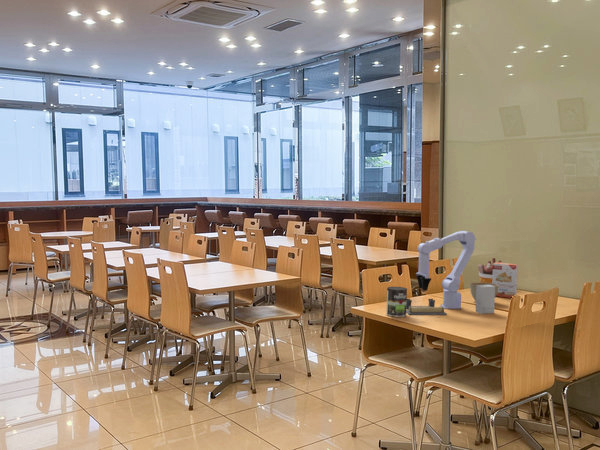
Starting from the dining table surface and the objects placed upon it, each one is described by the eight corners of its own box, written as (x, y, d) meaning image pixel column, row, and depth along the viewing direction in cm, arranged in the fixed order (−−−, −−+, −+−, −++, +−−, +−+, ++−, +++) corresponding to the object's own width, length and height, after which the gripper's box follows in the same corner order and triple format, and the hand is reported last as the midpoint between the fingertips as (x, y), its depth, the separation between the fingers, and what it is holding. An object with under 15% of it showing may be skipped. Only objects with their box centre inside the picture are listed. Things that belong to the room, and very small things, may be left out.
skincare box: (488, 311, 310) (489, 284, 309) (494, 313, 304) (495, 286, 303) (474, 311, 307) (475, 284, 307) (480, 314, 302) (482, 286, 301)
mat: (442, 312, 305) (442, 310, 305) (446, 315, 298) (446, 313, 298) (405, 311, 303) (405, 310, 303) (409, 314, 296) (409, 313, 296)
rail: (442, 311, 302) (442, 306, 302) (443, 312, 300) (443, 307, 300) (408, 311, 301) (408, 306, 301) (409, 312, 298) (410, 307, 298)
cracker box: (491, 296, 355) (492, 262, 354) (493, 294, 361) (494, 262, 359) (514, 298, 348) (516, 264, 347) (516, 297, 353) (518, 263, 352)
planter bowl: (494, 300, 340) (494, 282, 340) (500, 306, 324) (501, 287, 324) (466, 299, 342) (467, 281, 341) (472, 305, 326) (472, 286, 325)
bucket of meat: (500, 291, 372) (502, 261, 371) (475, 289, 380) (476, 259, 379) (506, 287, 389) (507, 258, 388) (481, 285, 397) (482, 256, 396)
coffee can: (409, 316, 292) (410, 289, 291) (391, 317, 289) (392, 290, 288) (400, 312, 302) (401, 286, 301) (383, 313, 299) (383, 286, 298)
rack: (432, 307, 315) (433, 298, 315) (435, 309, 311) (435, 300, 311) (404, 307, 314) (404, 298, 314) (406, 309, 310) (406, 300, 310)
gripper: (413, 263, 320) (412, 286, 321) (420, 266, 306) (419, 291, 306) (425, 263, 320) (424, 287, 321) (433, 266, 306) (432, 291, 307)
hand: (423, 289), depth 314 cm, fingers open, 7 cm apart
